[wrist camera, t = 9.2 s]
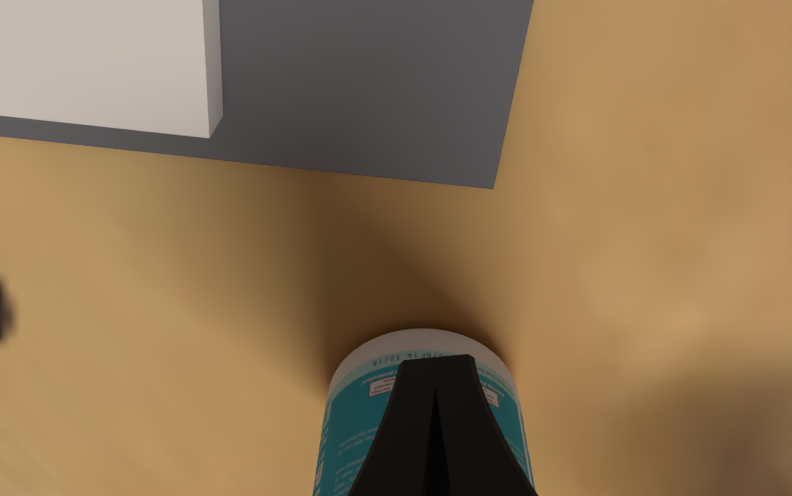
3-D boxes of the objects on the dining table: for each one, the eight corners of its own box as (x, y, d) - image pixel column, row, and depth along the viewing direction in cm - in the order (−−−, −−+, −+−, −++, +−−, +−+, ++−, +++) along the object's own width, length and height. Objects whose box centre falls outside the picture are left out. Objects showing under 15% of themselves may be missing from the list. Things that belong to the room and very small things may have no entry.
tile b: (196, -105, 15) (-120, -144, 15) (209, 138, 18) (-50, 110, 18) (214, -113, 17) (-75, -149, 16) (223, 115, 20) (-17, 88, 20)
